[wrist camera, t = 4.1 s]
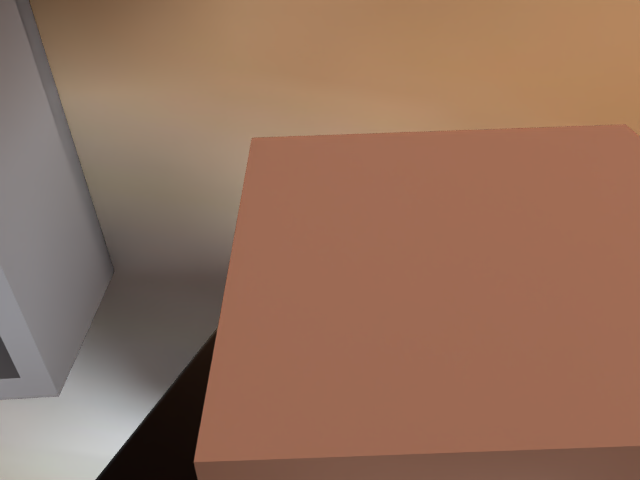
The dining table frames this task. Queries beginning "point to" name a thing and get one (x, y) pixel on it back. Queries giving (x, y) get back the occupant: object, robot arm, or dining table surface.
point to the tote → (41, 222)
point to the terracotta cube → (431, 309)
